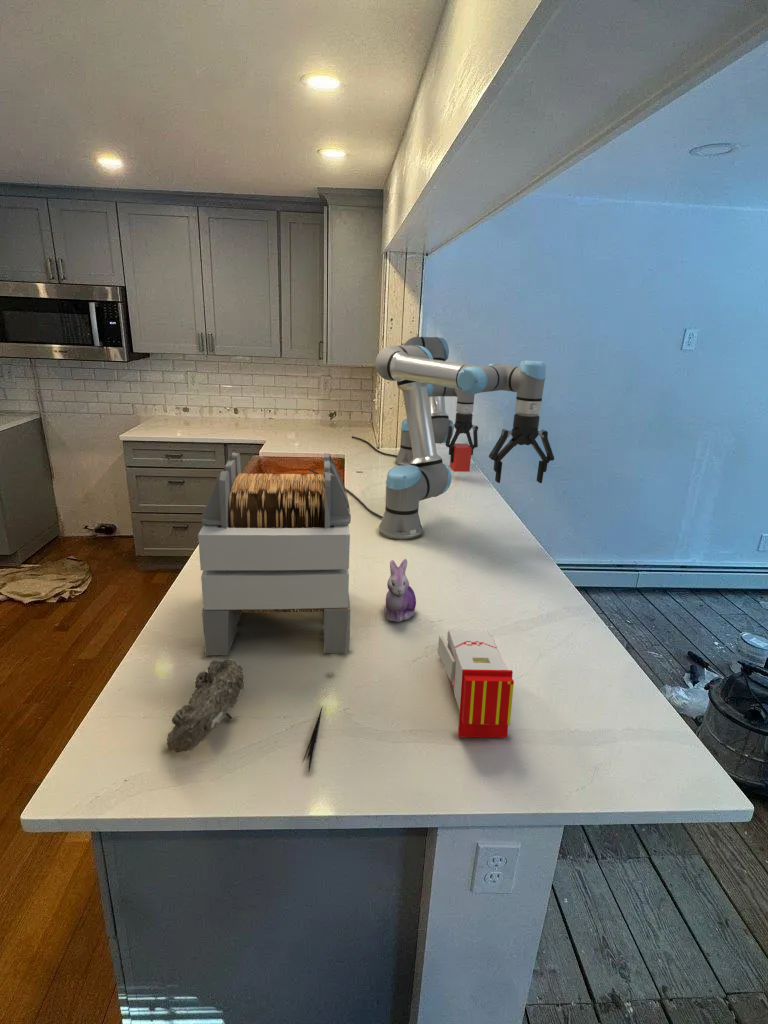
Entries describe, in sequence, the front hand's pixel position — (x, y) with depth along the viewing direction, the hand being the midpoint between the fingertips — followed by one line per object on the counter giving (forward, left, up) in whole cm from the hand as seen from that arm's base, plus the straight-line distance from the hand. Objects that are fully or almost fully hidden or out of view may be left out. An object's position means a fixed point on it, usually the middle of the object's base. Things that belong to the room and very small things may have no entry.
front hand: (518, 481), depth 178 cm
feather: (+27, -94, -25) cm, 101 cm away
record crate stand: (-10, -80, -25) cm, 84 cm away
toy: (+39, -64, -25) cm, 79 cm away
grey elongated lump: (+14, -109, -25) cm, 113 cm away
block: (-69, +51, -20) cm, 88 cm away
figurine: (+7, -55, -25) cm, 61 cm away
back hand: (-69, +51, -16) cm, 88 cm away
